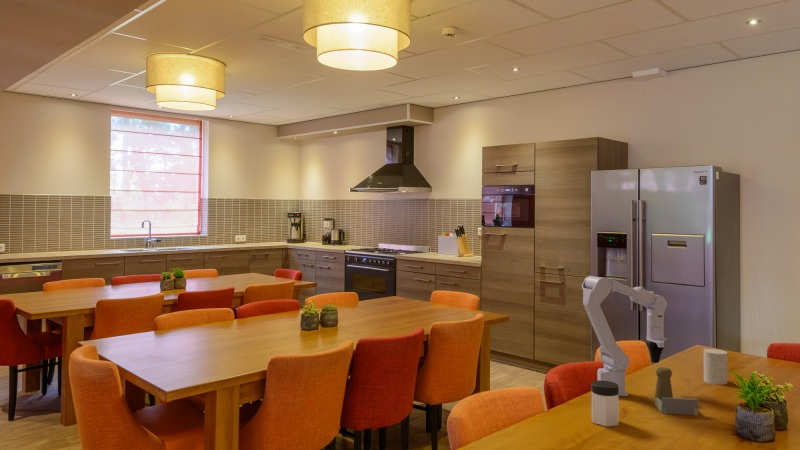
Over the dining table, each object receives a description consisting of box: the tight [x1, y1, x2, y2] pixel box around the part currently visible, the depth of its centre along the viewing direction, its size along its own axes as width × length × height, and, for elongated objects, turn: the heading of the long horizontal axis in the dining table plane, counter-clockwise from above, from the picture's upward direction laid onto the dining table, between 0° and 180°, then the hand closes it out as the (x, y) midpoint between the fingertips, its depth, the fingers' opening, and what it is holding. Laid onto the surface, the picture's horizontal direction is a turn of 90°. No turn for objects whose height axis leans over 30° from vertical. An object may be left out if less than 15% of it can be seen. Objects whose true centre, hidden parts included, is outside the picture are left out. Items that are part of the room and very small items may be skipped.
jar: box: [590, 380, 620, 427], centre depth 173 cm, size 9×8×12 cm
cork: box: [654, 366, 674, 401], centre depth 196 cm, size 6×6×11 cm
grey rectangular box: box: [654, 397, 699, 416], centre depth 184 cm, size 11×8×5 cm
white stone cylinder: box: [703, 348, 728, 386], centre depth 217 cm, size 8×8×12 cm
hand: (655, 362), depth 206 cm, fingers closed
